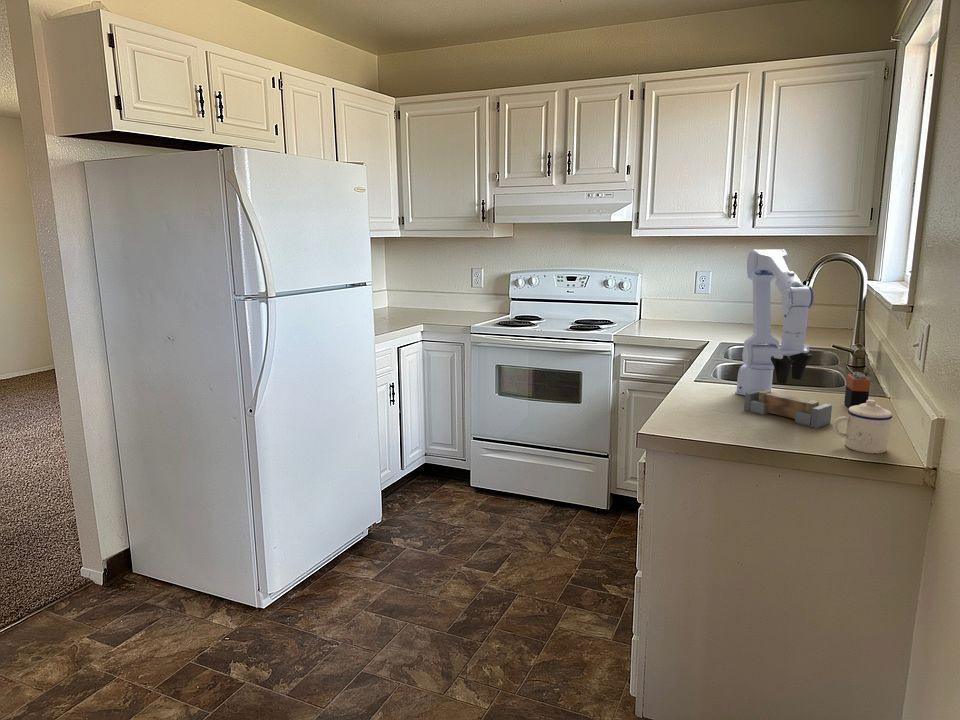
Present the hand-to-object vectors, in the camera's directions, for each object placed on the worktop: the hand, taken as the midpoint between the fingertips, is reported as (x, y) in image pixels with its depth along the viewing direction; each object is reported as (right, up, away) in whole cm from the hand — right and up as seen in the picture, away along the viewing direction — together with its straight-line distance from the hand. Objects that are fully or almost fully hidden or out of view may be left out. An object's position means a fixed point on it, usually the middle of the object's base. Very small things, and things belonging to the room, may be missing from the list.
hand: (789, 381), depth 178 cm
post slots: (0, -10, +2) cm, 10 cm away
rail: (0, -9, +2) cm, 10 cm away
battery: (+24, -8, +10) cm, 27 cm away
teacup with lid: (+6, -15, -22) cm, 28 cm away
